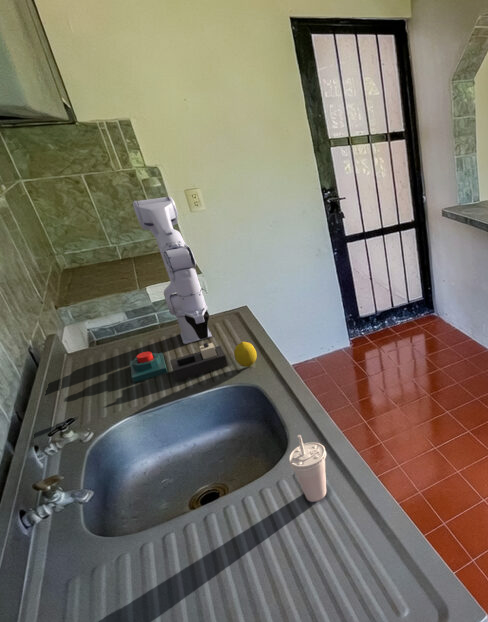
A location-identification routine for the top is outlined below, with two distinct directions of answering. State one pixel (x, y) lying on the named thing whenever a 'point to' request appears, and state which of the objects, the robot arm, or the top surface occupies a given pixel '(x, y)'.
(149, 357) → the power button
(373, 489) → the top surface
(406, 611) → the top surface
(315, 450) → the smoothie
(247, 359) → the lemon
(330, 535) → the top surface
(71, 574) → the top surface
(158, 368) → the switch block
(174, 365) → the dark grey slotted block
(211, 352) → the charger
